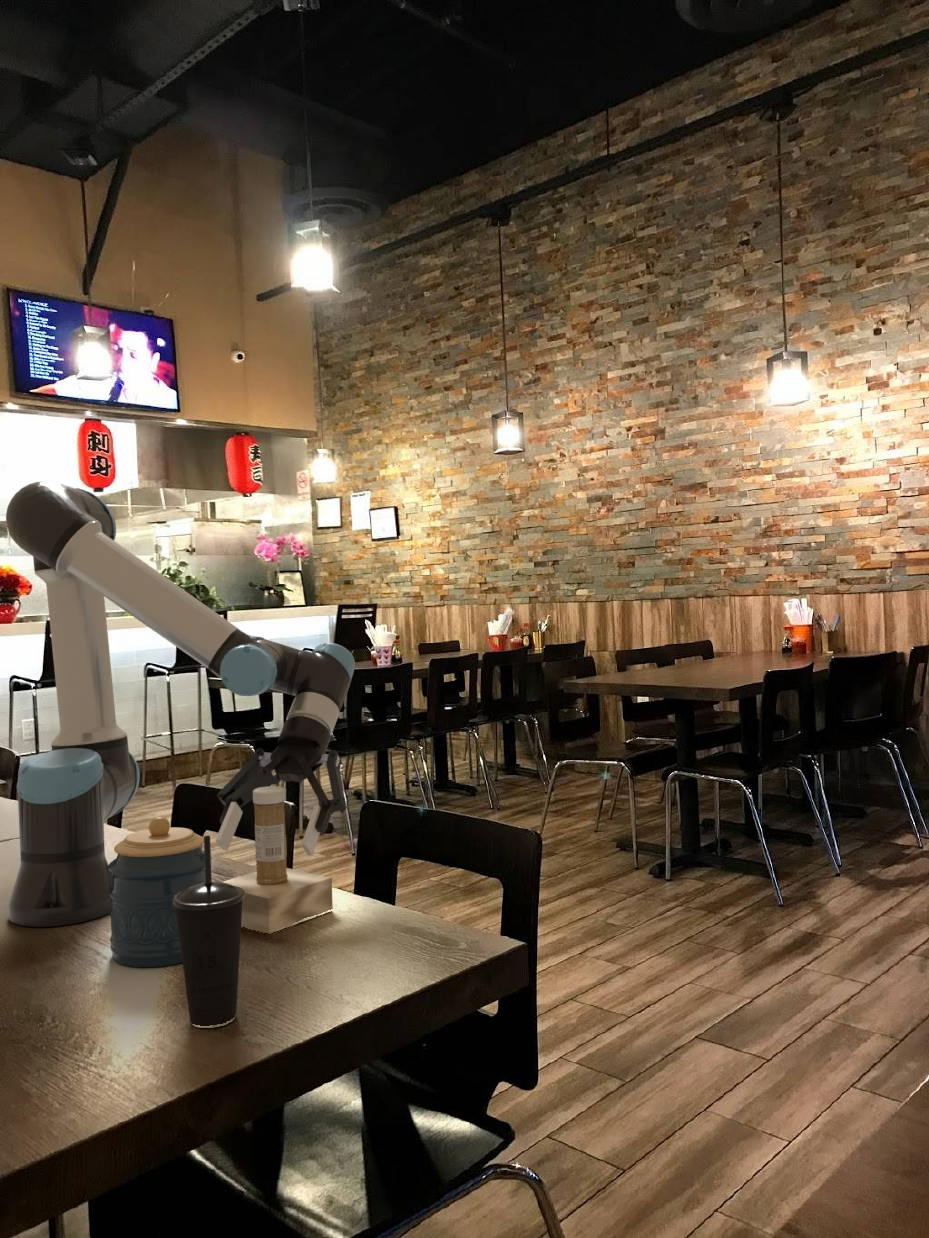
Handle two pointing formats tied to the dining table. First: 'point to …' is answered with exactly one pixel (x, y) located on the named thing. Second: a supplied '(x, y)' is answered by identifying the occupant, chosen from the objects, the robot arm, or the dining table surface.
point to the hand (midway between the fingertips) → (263, 848)
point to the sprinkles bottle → (270, 834)
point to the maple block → (283, 899)
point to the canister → (152, 892)
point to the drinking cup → (210, 946)
